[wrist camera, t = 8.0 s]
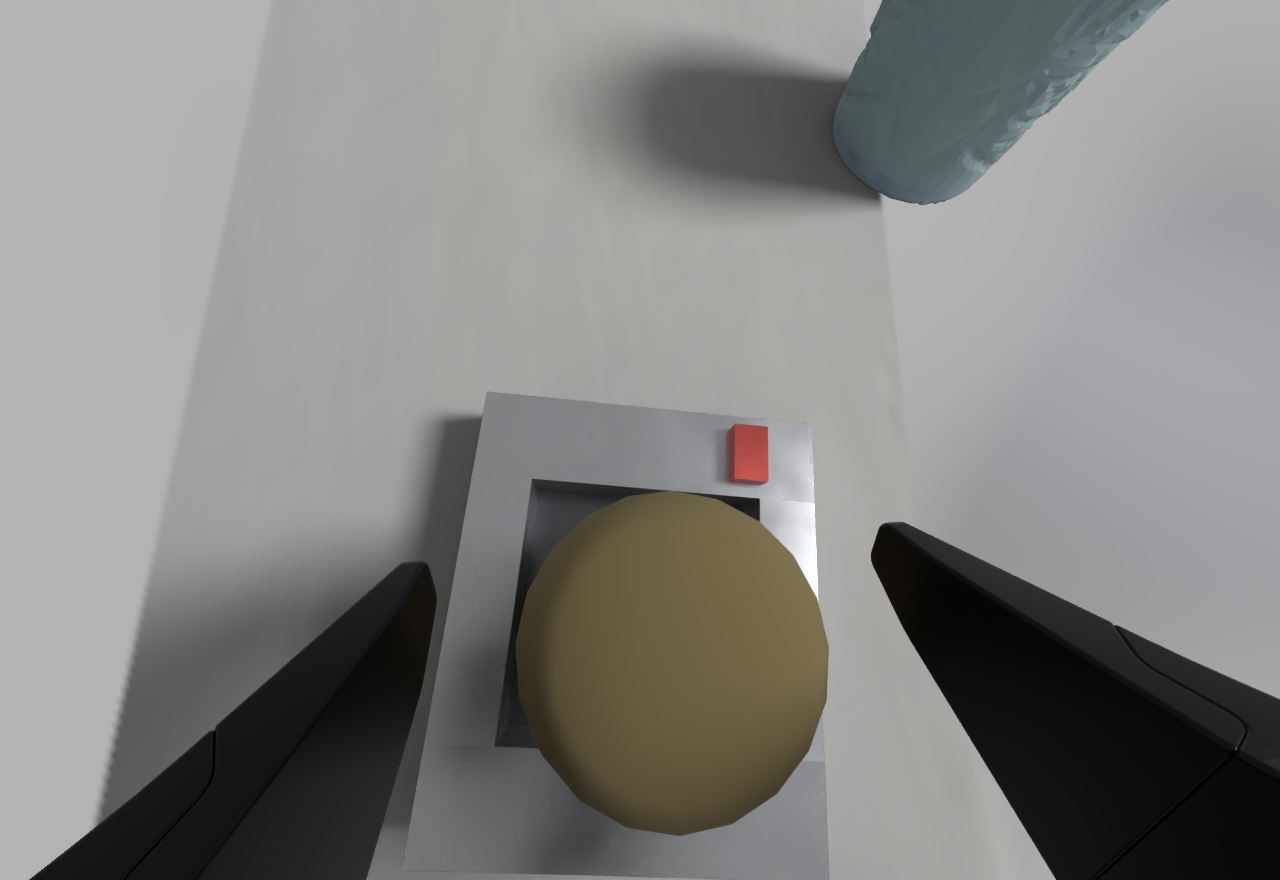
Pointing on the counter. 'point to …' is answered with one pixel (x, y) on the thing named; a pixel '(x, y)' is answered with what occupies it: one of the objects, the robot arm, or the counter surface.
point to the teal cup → (966, 84)
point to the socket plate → (490, 617)
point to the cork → (672, 662)
